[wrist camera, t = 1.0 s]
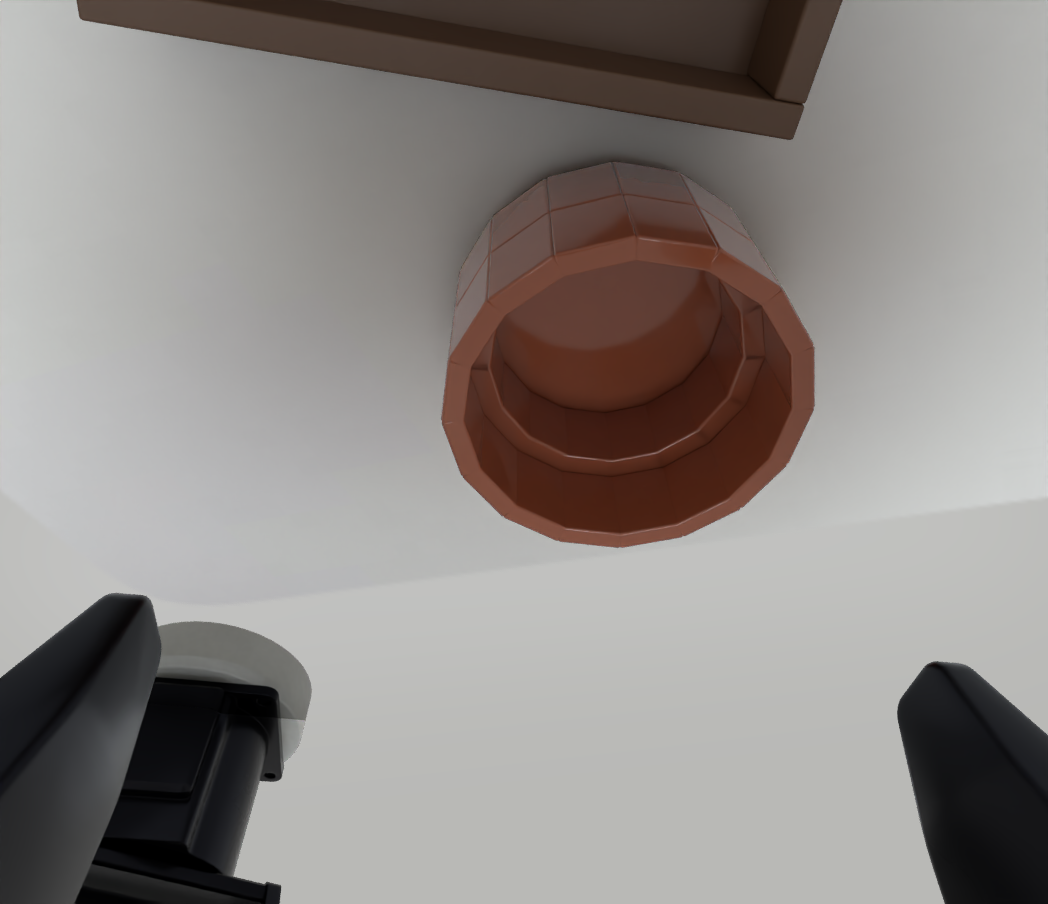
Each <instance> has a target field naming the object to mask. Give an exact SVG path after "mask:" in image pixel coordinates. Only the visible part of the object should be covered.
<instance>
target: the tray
mask: <svg viewBox="0 0 1048 904" xmlns="http://www.w3.org/2000/svg"><path fill="white" fill-rule="evenodd" d="M841 3H842V0H77V5H78V11H79V17H80V19H82V20H84V21H90V22H96V23H102V24H108V25H114V26H120V27H125V28H131V29H137V30H143V31H149V32H155V33H161V34H167V35H173V36H179V37H185V38H190V39H196V40H202V41H208V42H214V43H220V44H226V45H232V46H238V47H244V48H250V49H255V50H261V51H267V52H273V53H279V54H285V55H291V56H297V57H303V58H309V59H315V60H320V61H326V62H332V63H338V64H344V65H350V66H356V67H362V68H368V69H374V70H379V71H385V72H391V73H397V74H403V75H409V76H415V77H421V78H427V79H433V80H439V81H444V82H450V83H456V84H462V85H468V86H474V87H480V88H486V89H492V90H498V91H504V92H509V93H515V94H521V95H527V96H533V97H539V98H545V99H551V100H557V101H563V102H569V103H574V104H580V105H586V106H592V107H598V108H604V109H610V110H616V111H622V112H628V113H634V114H639V115H645V116H651V117H657V118H663V119H669V120H675V121H681V122H687V123H693V124H699V125H704V126H710V127H716V128H722V129H728V130H734V131H740V132H746V133H752V134H758V135H764V136H769V137H775V138H781V139H787V140H791V139H793V137H794V135H795V132H796V129H797V126H798V123H799V121H800V118H801V115H802V112H803V110H804V106H803V105H802V104H803V103H805V102H806V100H807V97H808V94H809V92H810V89H811V86H812V83H813V81H814V78H815V75H816V72H817V69H818V67H819V64H820V61H821V58H822V56H823V53H824V50H825V47H826V44H827V42H828V39H829V36H830V33H831V31H832V28H833V25H834V22H835V19H836V17H837V14H838V11H839V8H840V6H841Z"/></svg>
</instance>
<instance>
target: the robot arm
mask: <svg viewBox="0 0 1048 904" xmlns="http://www.w3.org/2000/svg"><path fill="white" fill-rule="evenodd" d="M160 657H161V640H160V635H159V631H158V627H157V622H156V618H155V614H154V609H153V605H152V603H151V600H150V599H149V598H148V597H147V596H143V595H135V594H123V593H111V594H108V595H106V596H104V597H102V598H101V599H99V600H98V601H97V602H96V603H94V604H93V605H92V606H90V607H89V608H88V609H87V610H85V611H84V612H83V613H82V614H80V615H79V616H78V617H77V618H75V619H74V620H73V621H72V622H70V623H69V624H68V625H66V626H65V627H64V628H63V629H61V630H60V631H59V632H58V633H56V634H55V635H54V636H53V637H52V638H50V639H49V640H47V641H46V642H45V643H44V644H43V645H41V646H40V647H39V648H37V649H36V650H35V651H34V652H32V653H31V654H30V655H29V656H27V657H26V658H25V659H24V660H22V661H21V662H20V663H18V664H17V665H16V666H15V667H13V668H12V669H11V670H10V671H8V672H7V673H6V674H5V675H3V676H2V677H1V678H0V904H279V903H280V893H281V885H278V884H274V883H270V882H266V883H265V884H262V883H257V882H253V881H249V880H245V879H241V878H237V877H233V875H234V871H235V868H236V864H237V860H238V857H239V853H240V850H241V846H242V843H243V839H244V835H245V832H246V828H247V824H248V821H249V817H250V814H251V810H252V807H253V803H254V799H255V796H256V792H257V789H258V785H259V781H270V782H274V781H278V780H280V779H281V777H282V773H283V769H284V763H283V747H282V732H281V716H280V701H279V693H278V691H277V690H276V689H274V688H272V687H268V686H260V685H248V684H236V683H224V682H212V681H200V680H188V679H177V678H165V677H155V676H156V673H157V670H158V666H159V662H160ZM897 715H898V723H899V728H900V732H901V737H902V741H903V746H904V750H905V755H906V759H907V764H908V768H909V773H910V777H911V782H912V786H913V791H914V795H915V800H916V804H917V809H918V813H919V818H920V822H921V826H922V830H923V834H924V838H925V842H926V846H927V849H928V853H929V856H930V859H931V863H932V866H933V869H934V872H935V875H936V878H937V881H938V884H939V887H940V890H941V893H942V896H943V899H944V902H945V904H1048V735H1047V734H1046V733H1045V732H1044V731H1043V730H1041V729H1040V728H1039V727H1038V726H1037V725H1036V724H1034V723H1033V722H1032V721H1031V720H1030V719H1029V718H1027V717H1026V716H1025V715H1024V714H1023V713H1022V712H1021V711H1020V710H1019V709H1017V708H1016V707H1015V706H1014V705H1013V704H1012V703H1011V702H1009V701H1008V700H1007V699H1006V698H1005V697H1004V696H1003V695H1001V694H1000V693H999V692H998V691H997V690H996V689H995V688H993V687H992V686H991V685H990V684H989V683H988V682H987V681H986V680H984V679H983V678H982V677H981V676H980V675H979V674H977V673H976V672H975V671H974V670H973V669H971V668H970V667H968V666H966V665H963V664H959V663H948V662H938V661H937V662H931V663H929V664H927V665H926V666H925V667H924V668H923V670H922V671H921V672H920V673H919V675H918V676H917V677H916V679H915V680H914V681H913V683H912V684H911V685H910V687H909V688H908V689H907V691H906V692H905V693H904V695H903V696H902V698H901V699H900V701H899V704H898V711H897Z"/></svg>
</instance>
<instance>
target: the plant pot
mask: <svg viewBox="0 0 1048 904" xmlns="http://www.w3.org/2000/svg"><path fill="white" fill-rule="evenodd" d="M814 406H815V362H814V346H813V342H812V340H811V338H810V336H809V334H808V333H807V331H806V329H805V327H804V325H803V324H802V322H801V320H800V318H799V317H798V315H797V313H796V311H795V309H794V308H793V306H792V304H791V302H790V300H789V299H788V297H787V295H786V293H785V291H784V290H783V288H782V287H781V285H780V283H779V282H778V280H777V279H776V277H775V276H774V274H773V272H772V271H771V269H770V268H769V266H768V264H767V263H766V261H765V260H764V258H763V257H762V255H761V253H760V252H759V250H758V249H757V247H756V246H755V244H754V242H753V241H752V239H751V238H750V236H749V234H748V233H747V231H746V230H745V228H744V227H743V225H742V223H741V222H740V220H739V219H738V217H737V216H736V214H735V212H734V211H733V210H732V209H731V208H730V206H729V205H728V204H726V203H725V202H723V201H722V200H720V199H719V198H717V197H716V196H714V195H713V194H711V193H710V192H708V191H707V190H705V189H704V188H702V187H701V186H699V185H698V184H697V183H695V182H694V181H692V180H691V179H689V178H688V177H686V176H685V175H683V174H682V173H678V172H677V171H672V170H665V169H659V168H653V167H647V166H641V165H635V164H628V163H622V162H616V161H614V162H613V163H612V162H608V163H603V164H599V165H595V166H591V167H587V168H583V169H579V170H575V171H571V172H567V173H563V174H558V175H554V176H550V177H548V178H547V179H543V180H542V181H540V182H539V183H537V184H536V185H535V186H533V187H532V188H531V189H529V190H528V191H526V192H525V193H524V194H522V195H521V196H520V197H518V198H517V199H515V200H514V201H513V202H511V203H510V204H509V205H507V206H506V207H504V208H503V209H502V210H500V211H499V212H498V213H496V214H495V215H494V216H493V219H491V220H489V222H488V224H487V225H486V227H485V229H484V230H483V232H482V234H481V235H480V237H479V239H478V240H477V242H476V244H475V246H474V247H473V249H472V251H471V252H470V254H469V256H468V257H467V259H466V261H465V262H464V264H463V266H462V267H461V271H460V273H459V280H458V288H457V295H456V303H455V310H454V318H453V325H452V333H451V340H450V348H449V355H448V363H447V372H446V380H445V389H444V398H443V407H442V416H441V420H442V426H443V428H444V431H445V434H446V436H447V439H448V441H449V444H450V447H451V449H452V452H453V455H454V457H455V460H456V463H457V465H458V468H459V471H460V473H461V475H462V476H463V478H464V479H465V480H466V481H467V482H468V483H469V484H470V485H471V486H472V487H473V488H474V489H475V490H476V491H477V492H478V493H479V494H480V495H481V496H482V497H483V498H484V499H485V500H486V501H487V502H488V503H489V504H490V505H491V506H492V507H493V508H494V509H495V510H496V511H497V512H498V513H499V514H500V515H501V516H504V517H505V518H506V519H508V520H511V521H513V522H515V523H518V524H520V525H522V526H524V527H527V528H529V529H531V530H533V531H536V532H538V533H540V534H542V535H545V536H547V537H549V538H552V539H554V540H556V541H558V540H559V541H560V542H569V543H578V544H587V545H597V546H606V547H615V548H619V547H622V548H623V547H629V546H634V545H640V544H646V543H652V542H657V541H663V540H669V539H674V538H680V537H682V536H686V535H688V534H690V533H692V532H694V531H697V530H699V529H701V528H703V527H705V526H707V525H709V524H711V523H713V522H715V521H717V520H719V519H721V518H723V517H725V516H727V515H729V514H731V513H734V512H736V511H738V510H739V509H740V508H742V507H744V506H745V505H746V504H747V503H748V502H749V501H750V500H751V499H752V498H753V497H754V496H755V495H756V494H757V493H758V492H759V491H761V490H762V489H763V488H764V487H765V486H766V485H767V484H768V483H769V482H770V481H771V480H772V479H773V478H774V477H775V476H776V475H777V474H778V473H779V472H781V471H782V470H783V469H784V468H785V467H786V465H787V464H788V463H789V461H790V459H791V457H792V455H793V452H794V450H795V448H796V446H797V444H798V442H799V440H800V438H801V436H802V434H803V431H804V429H805V427H806V425H807V423H808V421H809V419H810V417H811V415H812V413H813V410H814Z"/></svg>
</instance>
